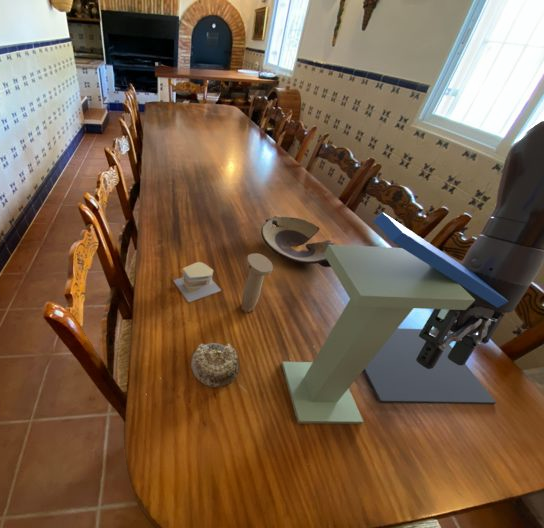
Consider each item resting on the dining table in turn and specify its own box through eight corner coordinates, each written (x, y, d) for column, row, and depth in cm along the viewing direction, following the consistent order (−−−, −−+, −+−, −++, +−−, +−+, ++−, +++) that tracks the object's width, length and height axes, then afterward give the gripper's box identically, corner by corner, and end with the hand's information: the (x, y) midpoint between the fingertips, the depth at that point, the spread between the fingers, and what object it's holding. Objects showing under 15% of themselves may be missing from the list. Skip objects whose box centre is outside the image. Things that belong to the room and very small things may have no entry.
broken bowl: (306, 226, 107) (312, 208, 102) (356, 283, 85) (368, 262, 80) (247, 229, 103) (252, 210, 98) (284, 290, 80) (292, 268, 76)
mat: (436, 330, 73) (437, 329, 73) (494, 404, 59) (496, 402, 59) (342, 328, 72) (343, 326, 71) (379, 402, 58) (381, 400, 57)
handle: (249, 297, 78) (261, 251, 68) (262, 315, 73) (277, 269, 63) (232, 301, 76) (243, 255, 66) (245, 320, 71) (258, 273, 62)
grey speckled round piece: (243, 386, 59) (249, 373, 55) (194, 391, 57) (196, 379, 54) (232, 341, 66) (236, 328, 62) (187, 346, 64) (189, 332, 61)
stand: (335, 365, 64) (418, 244, 43) (361, 424, 54) (482, 306, 34) (271, 363, 63) (325, 240, 42) (286, 423, 53) (364, 302, 33)
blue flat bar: (472, 285, 43) (482, 278, 42) (497, 308, 40) (508, 301, 39) (372, 220, 36) (382, 211, 35) (392, 241, 33) (403, 232, 32)
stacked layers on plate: (188, 302, 75) (189, 286, 71) (172, 280, 80) (173, 265, 77) (221, 290, 79) (224, 275, 75) (204, 270, 84) (206, 255, 81)
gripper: (501, 281, 36) (437, 384, 42) (552, 285, 42) (490, 376, 47) (437, 258, 43) (389, 351, 48) (489, 265, 48) (441, 347, 54)
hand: (439, 363), depth 48 cm, fingers open, 8 cm apart
